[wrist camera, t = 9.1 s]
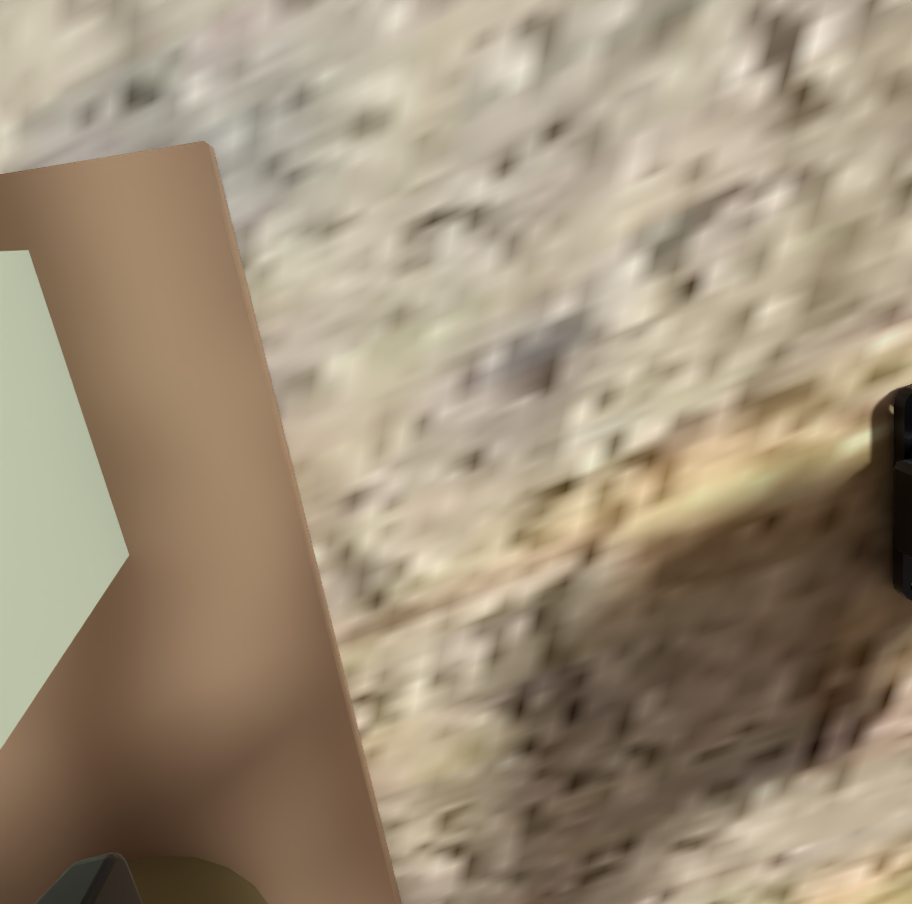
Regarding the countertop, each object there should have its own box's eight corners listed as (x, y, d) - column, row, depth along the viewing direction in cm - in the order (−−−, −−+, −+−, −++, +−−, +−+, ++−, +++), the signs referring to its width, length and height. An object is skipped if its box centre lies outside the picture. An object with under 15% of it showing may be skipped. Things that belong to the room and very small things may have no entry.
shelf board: (212, 147, 17) (184, 126, 13) (436, 1043, 25) (449, 1156, 22) (-322, 236, 16) (-483, 235, 12) (97, 1140, 24) (62, 1272, 21)
